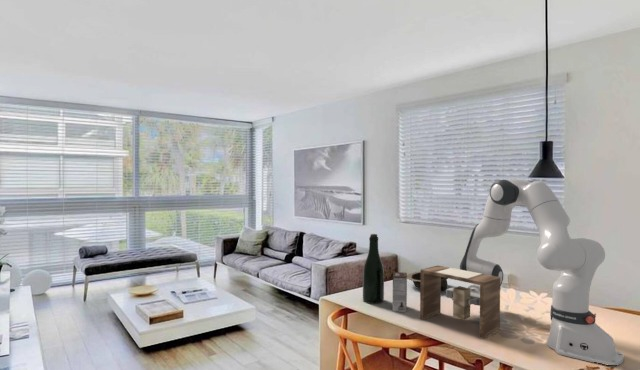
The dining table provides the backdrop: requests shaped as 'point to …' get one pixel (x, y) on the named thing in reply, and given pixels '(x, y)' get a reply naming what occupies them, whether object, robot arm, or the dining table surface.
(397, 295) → the coffee box
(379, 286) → the green wine bottle
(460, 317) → the maple block
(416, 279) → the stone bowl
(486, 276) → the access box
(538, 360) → the dining table surface
